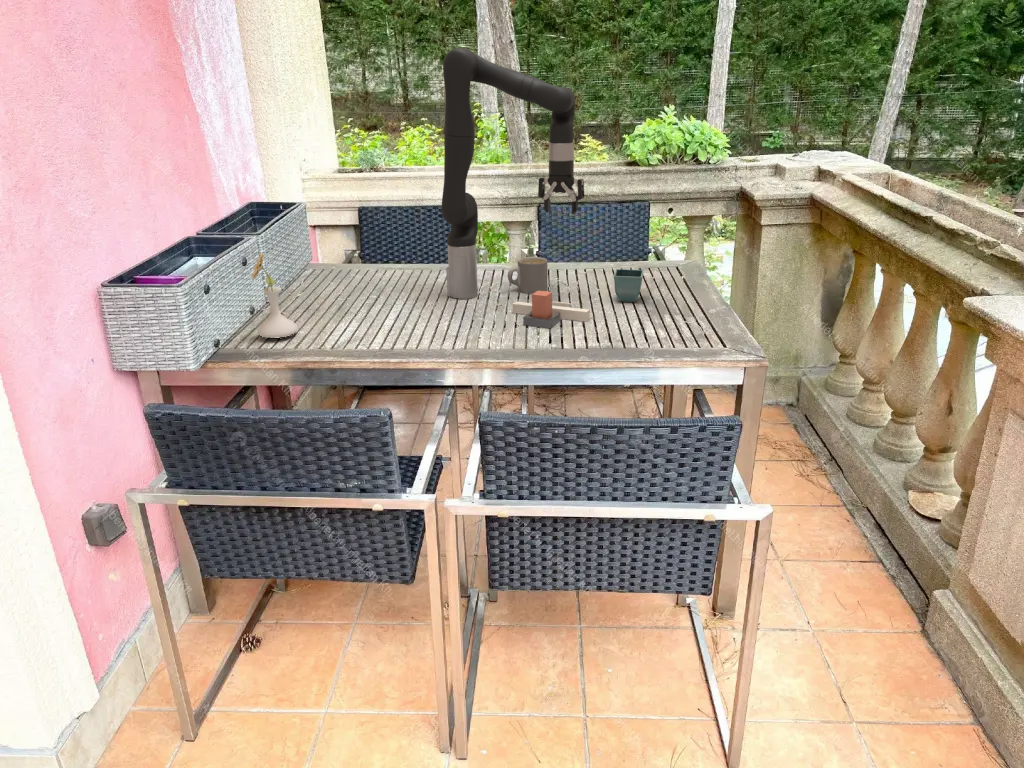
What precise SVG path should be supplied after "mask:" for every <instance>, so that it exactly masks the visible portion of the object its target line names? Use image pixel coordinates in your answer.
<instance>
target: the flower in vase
mask: <svg viewBox="0 0 1024 768" xmlns="http://www.w3.org/2000/svg"><path fill="white" fill-rule="evenodd" d="M264 259H265V253H264V252H263V253H262V252H260V254H259V257H257V258H256V265H254V266H253V267H252V268H253V272H252V273H251V274H250V275H251V278H252V280H255V279H256V278H257V277H258V275H259V274H260V271H261V270H263V272H265V275H266V276H267V277H266V278H265V282H266V284H267V287H266V288H264V289H262V292H263V293H264V294H265V296H266V298H267V300H268V302H269V307H270V314H269V316H268V318H266V320H265V321H263V323H262V324H261V325H260V326H259V327H258V328H257V330H256V331H257V332H256V333H257V336H259V335H260V336H262V337H261V338H263V337H271V338H275V337H285V336H288V335H291V334H293V333H295V332H296V333H297V332H298V330H299V327H298V325H297V324H296V323H295V322H294V321H292V320H290V319H289V318H287V317H286V316H283V315H282V314H281V312H280V307H279V294H280V292H281V290H282V288H281V287H278V286H274V285H275V283H276V281H275V279H273V277H271V275H270V274H268V272H267V270H266V269H265V268H264V267H263V264H264ZM273 286H274V287H273ZM296 333H295V334H296ZM293 335H294V334H293ZM260 336H259V337H260ZM291 336H292V335H291ZM285 338H286V337H285Z"/></svg>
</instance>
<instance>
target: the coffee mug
mask: <svg viewBox="0 0 1024 768" xmlns="http://www.w3.org/2000/svg"><path fill="white" fill-rule="evenodd" d="M514 272H516V274H517V277H516V279H513V277H512V276H513V273H514ZM507 280H508V282H509V283H510V284H511V285H514V286H516V287H517V291H518V292H520V293H522V292H523V294H531V295H532V294H533V293H535V292H537V291H548V259H547V258H544V257H538V256H529V257H527V256H526V257H522V258H521V257H520V258H518V259H517V266H513V267H510V268H509V269H508V272H507Z"/></svg>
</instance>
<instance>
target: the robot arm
mask: <svg viewBox="0 0 1024 768" xmlns="http://www.w3.org/2000/svg"><path fill="white" fill-rule="evenodd" d="M442 66H443V67H442V70H443V80H444V81H443V82H444V91H445V106H444V107H445V108H444V109H445V110H444V132H443V133H444V135H443V136H444V141H443V142H444V146H443V149H444V158H443V159H444V162H443V164H444V166H443V169H444V171H443V172H444V175H443V176H444V178H443V188H442V199H441V208H440V209H441V214H442V217H443V219H444V221H445V222H446V223H447V224H449V225H451V227H450V231H449V233H448V235H447V237H446V241H447V258H448V259H447V260H448V261H447V262H448V267H446V269H445V271H446V272H445V274H446V289H447V297H450V296H451V298H452V297H453V299H456V298H458V300H467V299H474V298H476V297H477V296H478V293H479V289H478V266H477V265H478V263H477V261H478V260H477V259H478V258H477V240H476V239H477V236H478V233H479V232H478V230H479V229H478V228H479V224H478V223H479V216H478V215H479V214H478V213H479V211H478V204H477V201H476V199H475V197H474V196H473V195H472V194H471V193H469V192H466V189H467V186H466V185H467V178H468V173H469V170H470V167H471V164H472V161H473V157H474V154H475V137H476V136H475V134H476V133H475V131H476V130H475V124H474V123H475V122H474V118H473V113H472V109H471V102H470V97H471V96H470V94H471V93H470V92H471V83H472V82H473V83H478V84H483V85H487V86H490V87H493V88H495V89H497V90H499V91H501V92H503V93H506V94H507V95H509V96H511V97H513V98H515V99H520V100H521V101H525V102H528V103H531V104H535V105H537V106H539V107H541V108H543V109H545V110H548V111H550V112H551V123H550V126H549V146H548V177H545V176H542V177H540V178H539V179H538V191H537V197H538V198H541V199H543V210H544V211H545V213H550V212H551V197H552V195H554V193H555V194H559V193H561V194H567V195H568V196H569V197H570V199H571V200H572V201H571V214H572V215H575V214H577V212H578V210H579V201H580V200H581V201H582V200H583V199H585V180H584V178H579V179H576V178H575V177H574V174H575V172H574V171H575V167H574V166H575V164H574V163H575V160H574V159H575V151H574V150H575V148H574V117H575V109H576V108H575V106H576V96H575V94H574V92H573V90H572V89H571V88H569V87H567V86H558V85H553V84H551V83H549V82H548V83H547V82H545V81H544V80H542V79H541V78H538V77H535V76H532V75H529V74H526V73H524V72H521V71H518V70H515V69H511V68H507V67H504V66H501V65H499V64H496V63H493V62H492V61H489V60H488V59H486V58H484V57H482V56H480V55H478V53H475V52H473V51H472V50H470V49H468V48H465V47H464V48H463V47H460V48H458V47H457V48H453V49H451V50H450V51H448V52H447V54H446V55H445V57H444V59H443V65H442ZM547 183H548V186H550V187H549V188H548V190H547V191H546V185H547ZM574 185H575V186H576V187H577V193H576V190H575V189H574V187H573V186H574Z"/></svg>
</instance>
